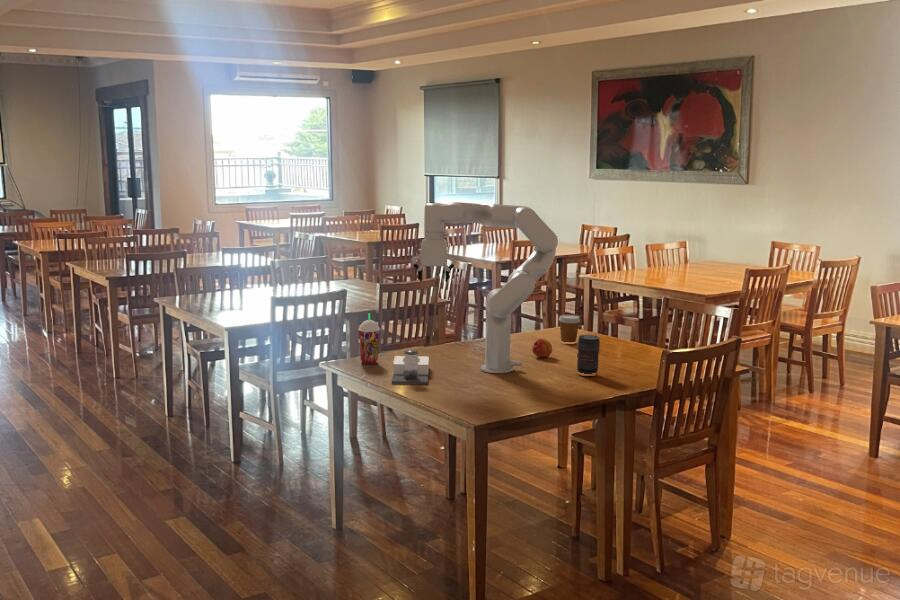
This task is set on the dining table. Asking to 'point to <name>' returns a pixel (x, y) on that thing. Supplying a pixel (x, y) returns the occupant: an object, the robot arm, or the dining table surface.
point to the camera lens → (588, 354)
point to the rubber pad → (401, 380)
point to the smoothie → (369, 341)
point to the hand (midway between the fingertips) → (433, 281)
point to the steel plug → (411, 364)
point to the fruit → (542, 348)
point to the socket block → (422, 365)
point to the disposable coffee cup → (569, 327)
